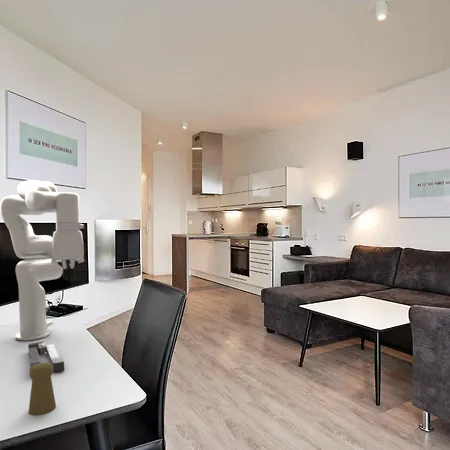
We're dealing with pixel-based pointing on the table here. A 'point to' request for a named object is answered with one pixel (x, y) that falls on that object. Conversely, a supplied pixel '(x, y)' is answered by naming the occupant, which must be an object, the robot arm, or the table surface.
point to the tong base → (34, 353)
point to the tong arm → (52, 356)
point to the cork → (41, 389)
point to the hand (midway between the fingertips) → (68, 279)
